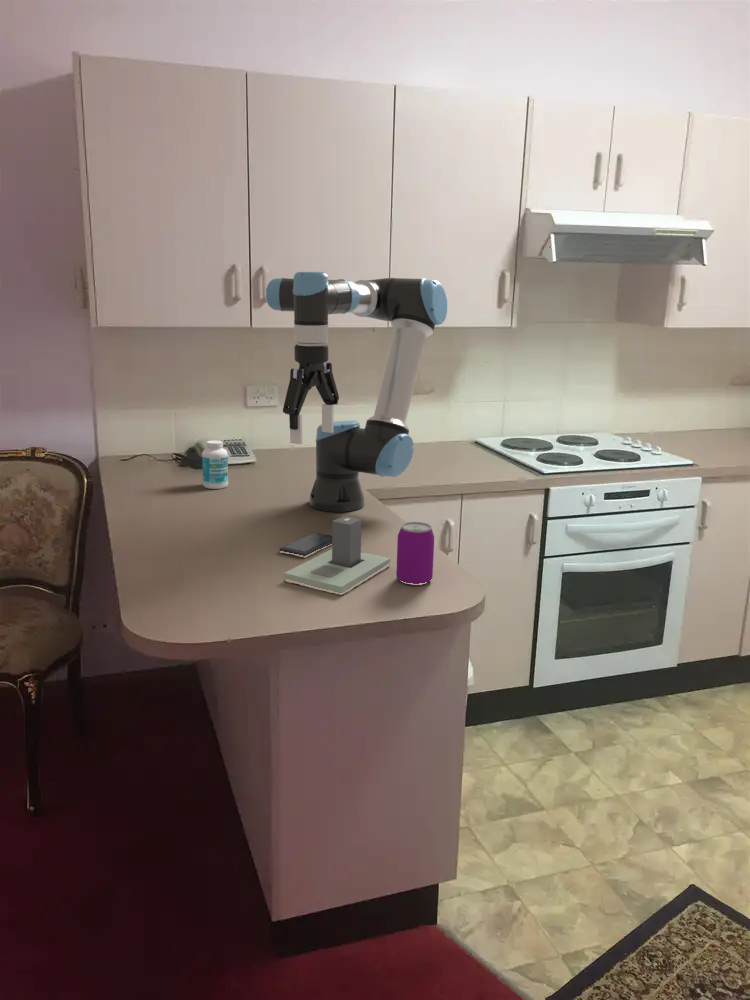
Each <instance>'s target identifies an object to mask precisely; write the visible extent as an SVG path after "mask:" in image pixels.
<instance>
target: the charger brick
mask: <svg viewBox="0 0 750 1000" xmlns="http://www.w3.org/2000/svg"><path fill="white" fill-rule="evenodd" d="M331 525H332V526H331V527H332V528H331V529H332V530H331V532H332V533H331V536H332V545H331V549H332V564H335V565H339V566H344V567H348V568H352V567H354V566H356V565H357V564H359V563H361V552H362V518H355V517H351V516H344V515H343V516H341V517H338V518H336V519H334V520H332V523H331Z"/></svg>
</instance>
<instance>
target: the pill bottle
mask: <svg viewBox="0 0 750 1000" xmlns="http://www.w3.org/2000/svg"><path fill="white" fill-rule="evenodd" d="M223 446H224V442H223V441H222V440H208V441H206V447H207V448H205V449H203V451H202V453H201V461H202V467H201V468H202V486H203V487H204V488H206V489H209V490H210V489H211V490H219V489H220V490H221V489H225V488H226V487H228V485H229V463H228V462H229V455H228V451H227V449H225V448H223Z"/></svg>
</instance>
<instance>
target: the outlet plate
mask: <svg viewBox="0 0 750 1000" xmlns="http://www.w3.org/2000/svg"><path fill="white" fill-rule="evenodd" d="M389 563H390V564H391V558H390V557H386V556H382V555H376V554H373V553H368V552H362V551H361V563H359V564H357V565H356V566H354V567H352V568H348V567H344V566H339V565H335V564H332V548H331V549H329V550H327V551H325V552H322V554H319V555H317V556H315V557H313V558H311V559H310V560H307V561H305V562H303V563H301V564H299V565H297V566H295V567H293V568H292V569H289V570H288V571H285V572H284V573H283V574H284V576H283V577H284V578H285V579H289V580H293V581H297V582H300V583H304V584H307V585H311V586H314V587H318V588H322V589H326V590H331V591H334V592H338V593H343V592H345V591H346V590H348V589H350V588H351V587H352V586H354V585H355V584H357V583H359V582H360V581H362V580H364V579H365V578H367V577H368V576H370V575H372V574H373V573H375V572H377V571H378V570H380V569H381V568H383V567H384V566H386V565H387V564H389Z"/></svg>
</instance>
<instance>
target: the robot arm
mask: <svg viewBox="0 0 750 1000" xmlns="http://www.w3.org/2000/svg"><path fill="white" fill-rule="evenodd" d="M328 277H329V276H328V274H327V273H326V272H324V271H297V272H295V273H294V275H293V278H285V277H281V278H280V277H278V278H277V277H276V278H273V279H271V280H270V281H269V282H268V283H267V286H266V288H265V300H266V303H267V304H268V306H269V307H270V308H271V309H272V310H275V311H281V312H293V316H294V317H293V318H294V319H293V324H294V325H293V326H294V327H293V331H294V337H293V338H294V342H295V343H296V344H295V346H294V360H295V361H294V362H297V363H298V364H299V366H298V368H291V369H290V371H289V373H290V374H289V383H288V386H287V390H286V395H285V399H284V402H283V403H284V404H283V407H282V412H283V413H284V414H285V415H289V417H288V418H289V437H290V438H289V440H290V441H289V443H290V444H297V445H303V415H302V414H300V413H301V411H302V408H303V406H304V403H305V401H306V398H307V395H308V393H309V391H310V390H311V389H312V388H313V387H316V389H317V392H318V393H319V395H320V397H321V399H322V401H323V403H322V404H321V424H319V425H318V427H317V429H316V437H315V446H316V447H315V465H316V466H315V473H316V474H315V479H314V483H313V485H312V489H311V492H310V495H309V506H310V507H311V508H313V509H316V510H319V511H325V512H331V513H333V512H334V513H335V512H336V513H339V512H340V513H341V512H342V513H343V512H345V513H346V512H353V511H357V510H360V509H361V508H363V507H364V506H365V494H364V492H363V489H362V485H361V482H360V478H359V473H364V474H369V475H374V476H375V475H376V476H380V477H384V478H385V477H389V478H390V477H391V478H395V477H398V476H400V475H402V473H404V472H406V470H407V469H408V467H409V466H410V463H411V462H412V461H411V460H412V458H413V454H414V441H413V440H414V439H413V438H412V436H411V435H409V434H410V428H409V427H408V425H407V423H406V422H407V417H408V414H409V410H410V406H411V402H412V397H413V395H414V394H413V393H414V389H415V385H416V382H417V377H418V372H419V370H420V365H421V360H422V357H423V353H424V348H425V344H426V339H428V337H430V336H432V335H434V331H435V330H434V329H435V326H439V325H442V324H443V323H444V322H445V320H446V319H447V318H446V317H447V313H448V299H447V298H448V297H447V293H446V291H445V288H444V286H443V284H442V283H441V282H440V281H438V280H437V279H429V278H426V277H424V278H408V277H407V278H403V277H401V278H400V277H398V278H397V277H387V278H386V277H384V278H378V279H377V278H376V279H367V280H365V279H361V280H356V281H354V282H353V281H351V280H349V279H344V278H343V279H341V278H339V279H328ZM347 313H351V314H353V315H355V316H357V317H359V318H360V317H361V318H369V319H370V318H371V319H374V320H380V321H385V322H390V325H391V326H392V328H393V330H394V333H393V337H392V341H391V344H390V350H389V353H388V358H387V361H386V365H385V369H384V373H383V377H382V380H381V381H382V382H381V386H380V388H379V389H380V390H379V394H378V398H377V402H376V406H375V410H374V413H373V416H371V417H370V418H369V417H368V418H367V420H366V422H365V425H364V428H361V425H360V422H359V421H358V420H339V421H338V420H337V421H336V420H335V421H334V405H338V404H339V400H340V396H339V392H338V388H337V385H336V380H335V378H334V373H333V365H332V362H328V361H329V345H328V344H327V343H328V342H329V315H336V314H337V315H338V314H341V315H345V314H347Z"/></svg>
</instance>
